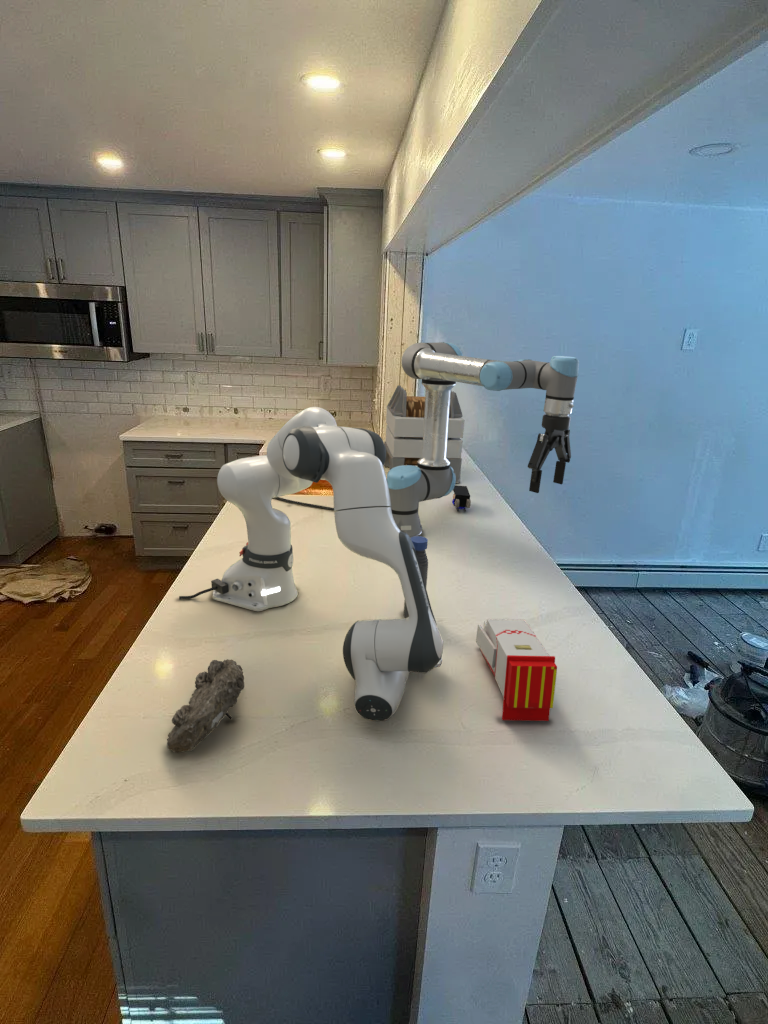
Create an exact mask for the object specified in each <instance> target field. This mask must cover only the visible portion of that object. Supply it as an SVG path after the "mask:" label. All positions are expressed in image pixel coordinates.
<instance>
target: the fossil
mask: <svg viewBox="0 0 768 1024" xmlns="http://www.w3.org/2000/svg"><path fill="white" fill-rule="evenodd" d="M243 670H244V669H243V667H242V665H240V664H237V662H236V661H235V660H234V659H232V658H231V659H227V658H226V659H224V660H223V661H222V660H217V659H212V660H211V661H210V663H209V665H208V666H207V671H201V672H199V673H198V674H197V675H196V676H195V680H194V684H195V685H194V687H195V689H194V690H193V693H192V694H191V697H190V698H189V700H188V704H184V705H182V706H181V707H180V709H177V710H176V711H175V713H174V715H173V716H172V718H171V723H172V724H173V727H172V730H171V731H170V732H168V734H167V738H166V741H167V742H166V745H167V749H168V750H169V751H173V752H174V753H176V754H178V753H182V752H188V751H189V752H192V751H193V750H195V748H196V747H197V746H199V744H200V743H201V742H203V741H204V740H205V739H206V738H207V737H208V736H209V735H210V734H211V733H212V732H214V730H215V729H217V727H218V726H219V724H220V722H221V721H222V720H223V719H224V718H225V716H226V717H227V719H229V720H233V717H232V715H230V714H229V710H230V709H231V708H234V706H235V704H236V703H237V702H238V699H239V697H240V695H241V693H242V691H243V690H245V689H244V688H245V675H244V671H243Z"/></svg>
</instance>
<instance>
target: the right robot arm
mask: <svg viewBox="0 0 768 1024" xmlns="http://www.w3.org/2000/svg"><path fill="white" fill-rule="evenodd" d="M402 353H403V354H402V356H401V367H402V370H403V371H404V373H405V375H407V376H408V377H409V378H412V379H414V380H421V385H422V386H423V387H424V389H425V394H424V397H425V411H424V430H423V448H422V457H421V458H420V459H419V460H418V462H417V466H413V465H402V466H397V467H394V468H392V469H391V470H390V469H389V470H388V472H387V475H386V479H387V483H388V488H389V494H390V502H391V511H392V515H393V519H394V521H395V523H396V525H397V527H398V528H399V529H400V531H402V532H404V533H406V534H408V535H409V537H410V539H411V538H412V537H414V536H421V537H422V535H423V525H422V524H421V518H420V515H419V507H420V506H419V505H420V503H421V502H426V501H430V500H436V499H441V498H443V497H446V496H448V495H450V494H452V492H453V491H454V490H453V489H454V486H455V485H456V483H455V482H456V476H455V473H454V470H453V468H452V467H451V466H450V462H449V461H448V459H447V458H446V453H447V439H448V424H449V409H450V395H451V391H452V389H453V388H454V387H455V386H456V385H457V383H461V384H462V383H463V384H467V385H473V386H478V387H483V388H484V389H485V390H487V391H493V392H500V391H506V390H507V391H508V390H522V389H535V390H542V391H545V399H544V405H543V415H542V418H541V419H542V420H541V427H542V428H543V429H544V430H545V431H544V433H538V434H537V438H536V442H535V445H534V448H533V450H532V452H531V455H530V458H529V460H528V463H527V468H528V469H530V470H531V474H530V479H529V480H530V481H529V488H528V490H529V492H532V493H535V494H539V493H540V487H541V481H542V475H543V470H542V467H543V465H544V464H545V462H546V460H547V458H548V456H549V454H550V452H552V451H553V450H555V454H556V457H557V460H556V461H555V467H554V468H555V469H554V474H553V481H552V483H554V484H558V485H563V484H564V478H565V471H566V467H567V466H566V465H567V463H571V458H572V450H571V440H570V436H571V435H570V433H571V429H570V425H571V419H572V417H571V416H570V415H572V412H573V408H574V407H575V405H574V399H575V393H576V386H577V381H578V377H579V368H580V367H579V366H580V360H579V359H578V358H577V357H574V356H565V355H553V356H552V357H551V358H550V360H549V362H546V361H539V360H532V359H525V358H524V359H517V360H513V361H510V360H509V361H508V360H507V361H506V360H505V361H504V360H497V359H496V360H495V359H488V358H480V357H474V356H473V357H472V356H465V355H464V354H463V352H462V350H461V349H460V347H459V346H458V345H457V344H455V343H451V342H445V341H443V342H440V341H439V342H438V341H437V342H415V343H413V344H410V345H409V346H408V347H406V349H405V350H404V351H403V352H402ZM274 499H275V500H278V501H281V502H285V503H291V504H295V505H301V506H306V507H312V508H317V509H323V510H327V511H328V510H329V511H334V507H330V506H325V505H320V504H313V503H308V502H302V501H296V500H292V499H288V498H284V497H281V496H280V497H275V498H274Z"/></svg>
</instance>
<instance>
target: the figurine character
mask: <svg viewBox="0 0 768 1024" xmlns="http://www.w3.org/2000/svg"><path fill="white" fill-rule="evenodd" d="M452 491H453V494H452V501H451V503H452V504H453V507H454V508H456V511H457V512H460V510H463V511H464V513H466V512H467V509H470V508H471V505H472V504H471V501H472V500H471V494H470V491H469V488H468V486H467V485H456V484H455V486H454V489H453V490H452ZM466 508H467V509H466Z"/></svg>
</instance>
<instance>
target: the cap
mask: <svg viewBox="0 0 768 1024" xmlns="http://www.w3.org/2000/svg"><path fill="white" fill-rule="evenodd" d="M411 541H412V543H413V545H414V548H415V550H417V551H422V550H425V551H426V550H427V549H428V544H429V543H428V542H429V540H428V538H427V537H425V536H422V535H421V536H414V537H412V538H411Z"/></svg>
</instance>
